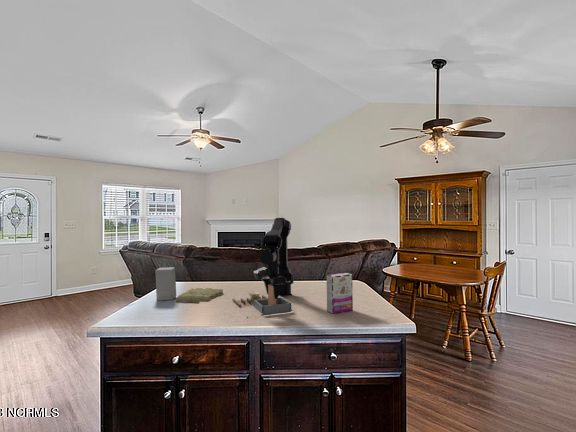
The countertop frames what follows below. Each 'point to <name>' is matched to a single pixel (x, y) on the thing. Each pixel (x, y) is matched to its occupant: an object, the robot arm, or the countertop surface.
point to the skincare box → (165, 283)
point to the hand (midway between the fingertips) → (272, 296)
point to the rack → (245, 302)
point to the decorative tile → (199, 295)
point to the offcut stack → (254, 296)
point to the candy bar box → (339, 293)
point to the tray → (272, 306)
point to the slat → (271, 295)
